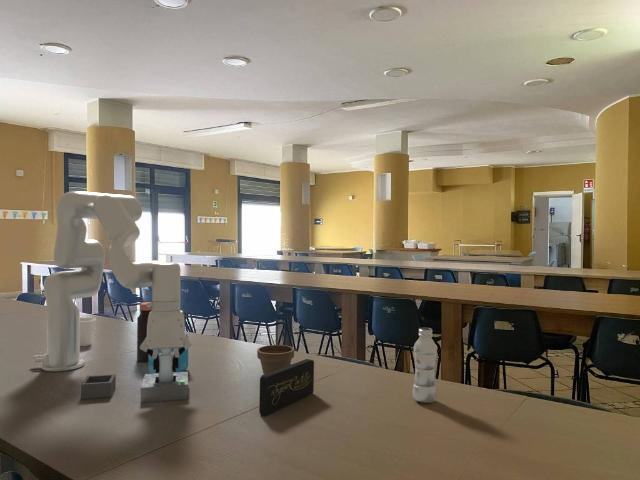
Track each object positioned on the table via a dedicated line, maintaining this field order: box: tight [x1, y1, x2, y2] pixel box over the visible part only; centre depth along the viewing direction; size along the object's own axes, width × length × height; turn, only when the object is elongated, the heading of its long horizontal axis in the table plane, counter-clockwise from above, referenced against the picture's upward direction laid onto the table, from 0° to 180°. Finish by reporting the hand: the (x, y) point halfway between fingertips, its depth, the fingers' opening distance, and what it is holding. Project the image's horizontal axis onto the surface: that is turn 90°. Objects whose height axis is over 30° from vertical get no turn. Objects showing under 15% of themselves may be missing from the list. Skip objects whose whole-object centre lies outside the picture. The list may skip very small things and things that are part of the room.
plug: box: [159, 348, 174, 383], centre depth 133 cm, size 4×4×12 cm
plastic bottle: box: [412, 327, 438, 404], centre depth 130 cm, size 6×7×20 cm
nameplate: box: [258, 358, 315, 417], centre depth 127 cm, size 21×2×10 cm, turn 145°
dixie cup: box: [80, 316, 96, 347], centre depth 187 cm, size 8×8×10 cm
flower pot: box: [256, 344, 295, 375], centre depth 145 cm, size 12×11×10 cm
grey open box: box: [80, 373, 117, 400], centre depth 132 cm, size 8×8×4 cm
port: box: [140, 371, 189, 404], centre depth 133 cm, size 12×12×5 cm
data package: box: [148, 333, 189, 374], centre depth 152 cm, size 12×4×12 cm, turn 142°
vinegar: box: [136, 301, 152, 363], centre depth 167 cm, size 7×7×20 cm
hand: (166, 370), depth 133 cm, fingers closed on plug, 4 cm apart
